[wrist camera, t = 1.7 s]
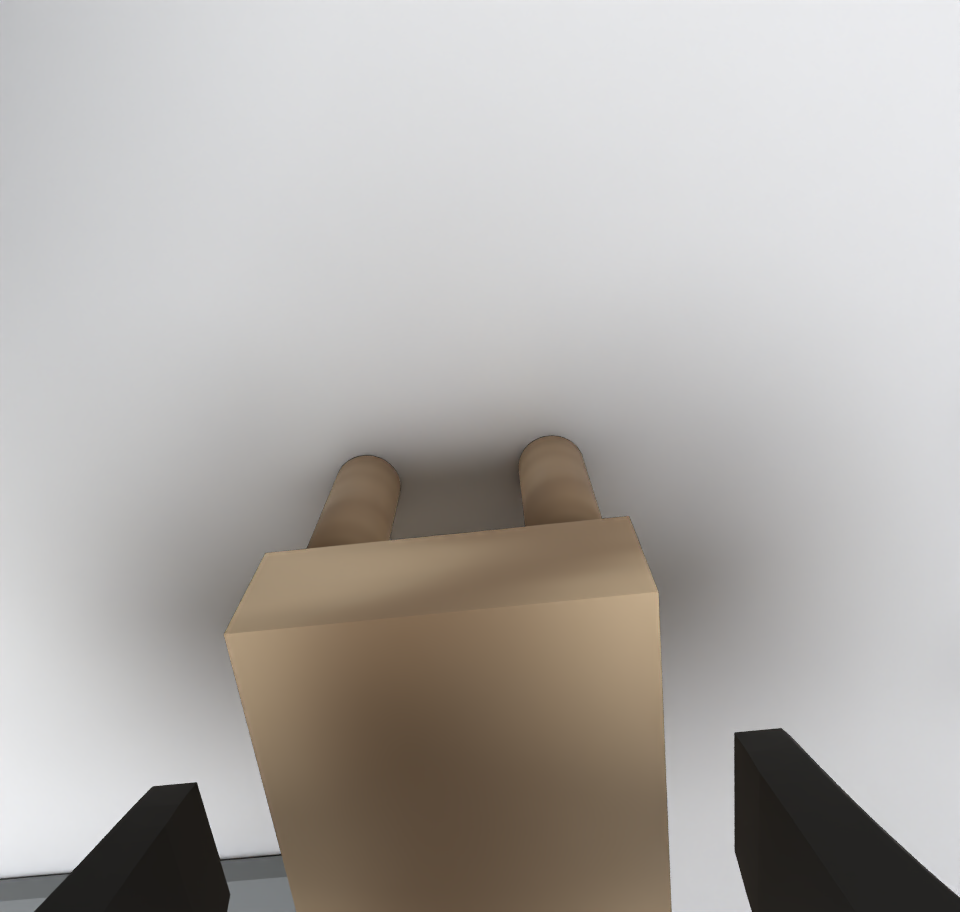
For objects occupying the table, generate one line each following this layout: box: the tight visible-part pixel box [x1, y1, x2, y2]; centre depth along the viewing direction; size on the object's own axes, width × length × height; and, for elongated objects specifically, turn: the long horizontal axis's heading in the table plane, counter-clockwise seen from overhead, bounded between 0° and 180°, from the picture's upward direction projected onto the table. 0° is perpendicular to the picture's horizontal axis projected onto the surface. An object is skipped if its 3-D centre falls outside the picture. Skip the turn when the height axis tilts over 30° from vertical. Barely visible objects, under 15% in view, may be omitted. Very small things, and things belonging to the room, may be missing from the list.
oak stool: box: [224, 436, 672, 912], centre depth 14 cm, size 5×7×6 cm
